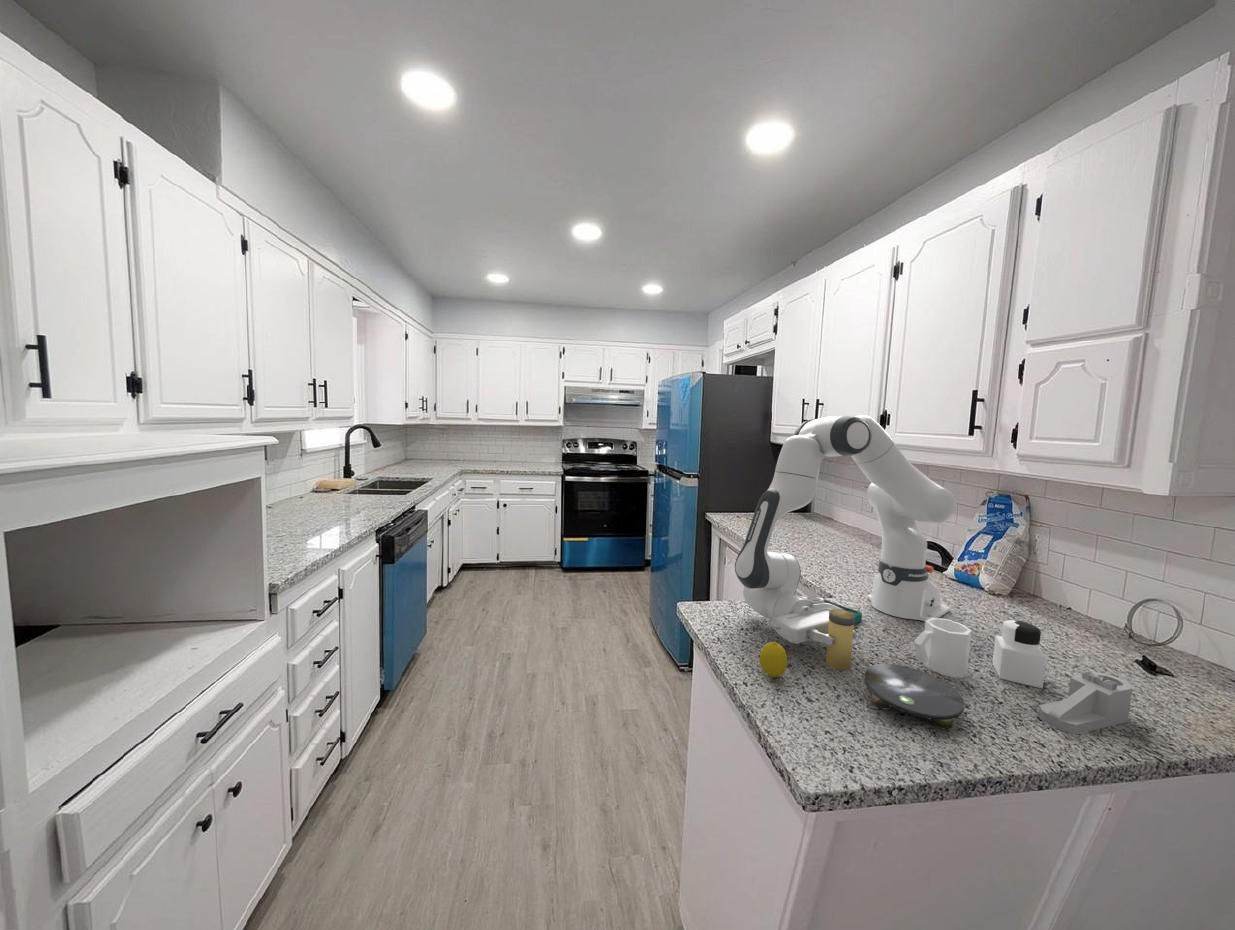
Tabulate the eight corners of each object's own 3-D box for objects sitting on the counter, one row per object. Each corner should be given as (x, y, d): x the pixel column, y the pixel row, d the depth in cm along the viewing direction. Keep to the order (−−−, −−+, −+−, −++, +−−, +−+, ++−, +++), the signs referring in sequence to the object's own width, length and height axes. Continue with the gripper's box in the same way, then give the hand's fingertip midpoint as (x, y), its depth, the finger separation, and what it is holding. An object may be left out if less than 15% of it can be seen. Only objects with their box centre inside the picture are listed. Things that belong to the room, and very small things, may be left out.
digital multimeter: (813, 603, 136) (814, 594, 135) (862, 621, 123) (863, 611, 123) (799, 608, 132) (800, 599, 131) (849, 628, 119) (849, 617, 119)
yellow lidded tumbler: (836, 656, 104) (839, 607, 102) (856, 667, 99) (860, 616, 98) (820, 661, 101) (824, 611, 100) (840, 672, 97) (844, 620, 96)
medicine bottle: (1032, 673, 98) (1039, 621, 97) (1043, 689, 92) (1049, 634, 91) (991, 663, 102) (997, 614, 101) (999, 678, 96) (1005, 626, 95)
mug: (941, 655, 105) (945, 616, 104) (977, 676, 97) (982, 633, 96) (899, 660, 103) (903, 619, 102) (932, 681, 94) (936, 637, 93)
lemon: (754, 677, 94) (756, 641, 94) (766, 667, 98) (768, 633, 97) (778, 688, 90) (781, 651, 90) (790, 678, 94) (792, 642, 93)
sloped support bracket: (1032, 716, 84) (1037, 676, 83) (1096, 702, 89) (1101, 664, 88) (1069, 737, 78) (1075, 694, 78) (1135, 721, 83) (1141, 681, 82)
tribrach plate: (895, 675, 96) (896, 656, 96) (980, 720, 82) (982, 698, 82) (845, 692, 90) (847, 672, 89) (929, 745, 75) (931, 721, 75)
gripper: (764, 608, 106) (811, 633, 94) (823, 596, 115) (874, 617, 103) (763, 633, 107) (809, 661, 95) (822, 619, 116) (871, 643, 103)
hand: (843, 638), depth 99 cm, fingers open, 5 cm apart
